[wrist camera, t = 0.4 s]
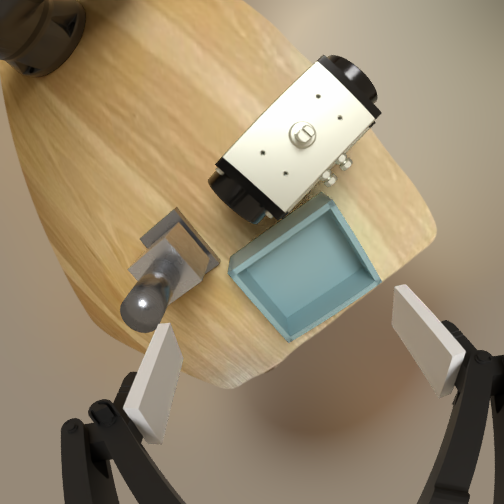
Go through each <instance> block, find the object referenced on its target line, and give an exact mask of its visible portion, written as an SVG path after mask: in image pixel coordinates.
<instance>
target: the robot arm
mask: <svg viewBox="0 0 504 504" xmlns="http://www.w3.org/2000/svg"><path fill="white" fill-rule="evenodd" d="M84 26H85V11H84V8H83V6H82V5H81V4H80V3H79V2H77V1H76V0H0V60H5V61H6V62H7V63H9V64H10V65H11V66H12V67H13V68H14V69H15V70H17V71H18V72H19V73H21V74H23V75H26V76H31V77H40V76H44V75H46V74H49V73H50V72H52V71H54V70H55V69H57V68H58V67H59V66H60V65H61V64H62V63H63V62H64V61H65V60H66V59H67V58H68V57H69V56H70V55H71V53H72V52H73V50H74V49H75V47H76V46H77V44H78V42H79V40H80V38H81V36H82V33H83V30H84ZM392 326H393V328H394V329H395V331H396V332H397V334H398V335H399V337H400V338H401V340H402V341H403V343H404V344H405V346H406V347H407V349H408V350H409V352H410V353H411V355H412V356H413V358H414V360H415V361H416V363H417V364H418V366H419V367H420V369H421V371H422V372H423V374H424V375H425V377H426V378H427V380H428V382H429V383H430V385H431V387H432V388H433V390H434V392H435V393H436V395H437V397H438V398H441V397H444V396H446V395H449V394H451V392H452V390H453V387H454V385H455V386H456V388H457V389H458V391H457V394H456V396H455V399H454V401H453V409H452V413H451V416H450V419H449V423H448V426H447V429H446V433H445V436H444V439H443V442H442V444H441V447H440V450H439V453H438V456H437V459H436V461H435V463H434V466H433V469H432V471H431V473H430V476H429V478H428V481H427V483H426V485H425V487H424V490H423V492H422V494H421V496H420V498H419V500H418V502H417V504H468V502H469V499H470V494H469V493H468V490H469V487H470V484H471V480H472V477H473V474H474V471H475V467H476V464H477V460H478V456H479V452H480V448H481V444H482V440H483V435H484V430H485V425H486V420H487V414H488V408H489V401H490V400H491V407H492V418H493V429H494V446H495V485H494V486H495V487H494V503H493V504H504V355H500V356H492V355H491V354H490V353H488V352H487V351H484V350H477V349H476V348H475V347H474V346H473V345H472V344H471V343H470V341H469V340H468V339H467V338H466V337H465V336H463V333H462V332H461V331H459V329H458V328H457V327H456V326H455V325H454V324H453V323H451V322H449V321H447V320H445V321H442V322H440V321H439V320H438V319H437V317H436V316H435V315H434V314H433V313H432V312H431V311H430V310H429V309H428V308H427V307H426V305H424V303H423V302H422V301H421V300H420V299H419V298H418V297H417V296H416V295H415V294H414V293H413V292H412V291H411V289H410V288H409V287H408V286H407V285H405V284H404V285H400V286H395V287H394V301H393V314H392ZM183 359H184V358H183V356H182V353H181V351H180V348H179V345H178V343H177V340H176V337H175V334H174V332H173V329H172V326H171V323H163V324H158V326H157V328H156V330H155V333H154V335H153V337H152V339H151V342H150V344H149V346H148V349H147V351H146V353H145V356H144V358H143V360H142V363H141V365H140V368H139V370H138V372H130V373H129V374H128V375H127V376H126V377H125V378H124V380H123V382H122V385H121V387H120V389H119V393H117V396H116V398H115V400H114V403H112V402H111V401H110V400H106V399H102V400H99V401H96V402H95V403H93V404H92V405H91V407H90V408H89V411H88V414H89V416H90V418H91V419H92V420H93V422H94V423H90V424H83V422H82V421H81V420H80V419H77V418H74V419H70V420H68V421H66V422H65V423H64V424H63V426H62V428H61V461H62V478H63V490H64V500H65V504H119V501H118V496H117V493H116V488H115V484H114V479H113V475H112V470H111V465H110V459H113V460H114V462H115V464H116V465H117V468H118V469H119V471H120V473H121V475H122V476H123V478H124V480H125V482H126V484H127V485H128V487H129V489H130V490H131V492H132V494H133V495H134V496H135V498H136V500H137V501H138V503H139V504H186V503H185V502H184V501H183V499H182V498H181V497H180V496H179V495H178V493H177V492H176V491H175V490H174V488H173V487H172V486H171V485H170V483H169V482H168V481H167V479H166V478H165V477H164V475H163V474H162V473H161V471H160V470H159V469H158V467H157V466H156V464H155V463H154V461H153V460H152V459H151V457H150V456H149V454H148V453H147V451H146V450H145V448H144V447H143V445H142V444H141V442H142V438H144V439H145V441H146V442H147V443H148V444H162V442H163V438H164V434H165V430H166V426H167V421H168V417H169V413H170V409H171V405H172V401H173V397H174V393H175V389H176V385H177V382H178V378H179V374H180V370H181V366H182V363H183Z"/></svg>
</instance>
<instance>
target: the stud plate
mask: <svg viewBox="0 0 504 504" xmlns="http://www.w3.org/2000/svg"><path fill="white" fill-rule="evenodd" d="M178 222H179V223H180V224H181V225H182V226H183V227H184V229H185V230H186V231H187V232H188V233H189V235H190V236H191V237H192V238H193V239H194V241H195V242H196V243H197V244H198V245H199V247H200V248H201V249H202V250H203V251H204V253H205V254H206V255H207V256H208V257H209V258H210V259H209V262H208V265H207V268H206V271H205V274H206V273H207V272H209V271H210V270H211V269H213V268H214V267H216V266H217V265H218V264H219V263H220V259H219V258H218V256H217V255H216V254H215V253H214V252H213V250H212V249H211V248H210V247H209V246H208V245H207V243H206V242H205V241H204V240H203V239H202V237H201V236H200V235H199V234H198V232H197V231H196V230H195V229H194V228H193V226H192V225H191V224H190V223H189V222H188V220H187V219H186V218H185V217H184V216H183V214H182V213H181V212H180V211H179V209H178V208H177V207H176V208H175V209H174V210H172V211H171V212H170V213H169V214H168V215H166V216H165V217H164V218H163V219H162V220H161V221H159V222H158V223H157V224H156V225H155V226H154V227H153V228H151V229H150V230H149V231H148V232H147V233H146V234H145V235H143V236H142V237H141V238H140V240H141V241H142V243H143V244H144V245H145V246H146V247H147V248H148V247H149V246H150V245H152V244H153V243H154V242H155V241H156V240H158V239H159V238H160V237H161V236H162V235H163V234H165V233H166V232H167V231H168V230H169V229H171V228H172V227H173V226H174V225H175V224H177V223H178ZM205 274H204V275H205Z"/></svg>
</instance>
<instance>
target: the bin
mask: <svg viewBox="0 0 504 504" xmlns="http://www.w3.org/2000/svg"><path fill="white" fill-rule="evenodd" d="M228 274H229V276H230V277H231V278H232V279H233V280H234V281H235V283H236V284H237V285H238V286H239V287H240V288H241V290H242V291H243V292H244V293H245V294H246V295H247V297H248V298H249V299H250V300H251V301H252V302H253V303H254V305H255V306H256V307H257V308H258V309H259V310H260V311H261V313H262V314H263V315H264V316H265V317H266V318H267V319H268V320H269V322H270V323H271V324H272V325H273V326H274V327H275V328H276V330H277V331H278V332H279V333H280V334H281V335H282V336H283V337H284V338H285V340H286V341H287V342H288V343H290V342H291V341H293V340H295V339H296V338H298V337H300V336H301V335H303V334H305V333H306V332H308V331H309V330H311V329H313V328H314V327H316V326H317V325H319V324H321V323H322V322H324V321H325V320H327V319H328V318H330V317H332V316H333V315H335V314H336V313H338V312H339V311H341V310H342V309H344V308H345V307H347V306H348V305H350V304H351V303H353V302H354V301H356V300H357V299H359V298H360V297H361V296H363V295H364V294H366V293H367V292H369V291H370V290H372V289H373V288H374V287H376V286H377V285H379V284H380V283H381V282H382V281H381V279H380V277H379V275H378V274H377V272H376V270H375V268H374V267H373V265H372V263H371V261H370V260H369V258H368V256H367V254H366V253H365V251H364V249H363V248H362V246H361V244H360V243H359V241H358V239H357V238H356V236H355V234H354V233H353V231H352V230H351V228H350V226H349V225H348V223H347V222H346V220H345V218H344V217H343V215H342V214H341V212H340V211H339V209H338V207H337V206H336V204H335V203H334V201H333V200H332V199H331V198H329V197H328V196H327V195H325V194H324V193H322V192H320V193H319V194H318V195H316V196H315V197H313V198H312V199H310V200H309V201H308V202H306V203H305V204H303V205H302V206H301V207H299V208H298V209H296V210H295V211H294V212H292V213H291V214H289V215H288V216H287V217H285V218H284V219H282V220H281V221H280V222H278V223H277V224H275V225H274V226H273V227H271V228H270V229H268V230H267V231H266V232H264V233H263V234H261V235H260V236H259V237H257V238H256V239H254V240H253V241H252V242H250V243H249V244H247V245H246V246H245V247H243V248H242V249H240V250H239V251H238V252H236V253H235V254H233V255H232V256H231V257H230V262H229V268H228Z"/></svg>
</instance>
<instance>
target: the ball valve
mask: <svg viewBox="0 0 504 504" xmlns="http://www.w3.org/2000/svg"><path fill="white" fill-rule="evenodd" d="M376 101H377V92H376V89H375V87H374V86H373V84H372V82H371V81H370V80H369V78H368V77H367V76H366V75H365V74H364V73H363V72H362V71H361V70H360V69H359V68H358V67H357V66H355V65H354V64H353V63H351V62H350V61H348V60H347V59H345V58H342V57H340V56H335V55H331V56H328V57H326V56H325V55H323V56H322V57H321V58H319V59H318V60H317V61H316V62H315V63H314V64H313V65H312V66H311V67H309V68H308V69H307V70H306V71H305V72H304V73H303V74H302V75H301V76H300V77H299V78H298V79H297V80H296V81H295V82H294V83H293V84H291V85H290V86H289V87H288V88H287V89H286V90H285V91H284V92H283V93H282V94H281V95H280V96H279V97H278V98H277V99H276V100H275V101H274V102H273V103H272V104H271V105H270V106H269V107H268V108H267V109H266V110H265V111H264V112H263V113H262V114H261V115H260V116H259V117H258V118H257V120H256V121H255V122H254V123H253V124H252V125H251V126H250V127H249V128H248V129H247V130H246V131H245V132H244V133H243V134H242V135H241V136H240V138H239V139H238V140H237V141H236V142H235V143H234V144H233V145H232V146H231V147H230V148H229V150H228V151H227V152H226V153H225V154H224V155H223V156H222V157H221V158H220V160H219V161H218V162H217V163H216V164H215V165H216V166H217V168H216V169H215V170H216V171H215V172H214V173H213V174H212V176H211V177H210V178H209V179H208V183H209V185H210V187H211V188H212V190H213V191H214V192H215V193H216V194H217V196H218V197H219V198H220V199H221V200H222V201H223V202H224V203H225V204H227V205H228V206H229V207H230V208H231V209H232V210H233V211H235V212H236V213H237V214H238V215H240V216H241V217H242V218H244V219H245V220H247V221H249V222H251V223H253V224H258V223H259V222H260V221H261V220H262V219H263V218H264V217H265V216H266V215H267V216H268V217H269V218H272V217H273V216H274V217H275V218H276V219H277V220H279V219H280V218H282V219H283V218H284V217H285V216H286V215H287V214H288V213H289V212H290V211H291V210H292V209H293V208H294V207H295V206H296V205H297V203H298V202H299V201H300V200H301V199H302V198H303V197H304V196H305V195H306V194H307V193H308V192H309V191H310V190H311V189H312V188H313V187H314V186H315V185H316V184H317V183H318V182H319V181H320V180H321V181H324V180H325V182H324V184H325V185H326V186H327V187H330V186H331V185H333V184H334V183H335V182H336V180H337V177H336V175H335V174H332V175H331V170H330V169H331V168H332V167H333V166H334V165H335V164H337V165H339V164H340V168H341V169H342V170H344V171H345V170H347V169H348V168H349V167H350V166H351V165H352V163H353V162H352V160H351V159H350V158H347V155H346V153H347V152H348V151H349V150H350V149H351V148H352V146H353V145H354V144H355V143H356V142H357V141H358V140H359V139H360V138H361V137H362V136H363V135H364V134H365V133H366V132H367V131H368V130H369V129H370V128H371V127H372V126H373V125H374V124H375V119H377V117H378V116H379V115H380V114H381V111H380V110H379V109H378V108H377V107H376V106H375V105H374V103H375V102H376ZM346 158H347V159H346Z"/></svg>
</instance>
